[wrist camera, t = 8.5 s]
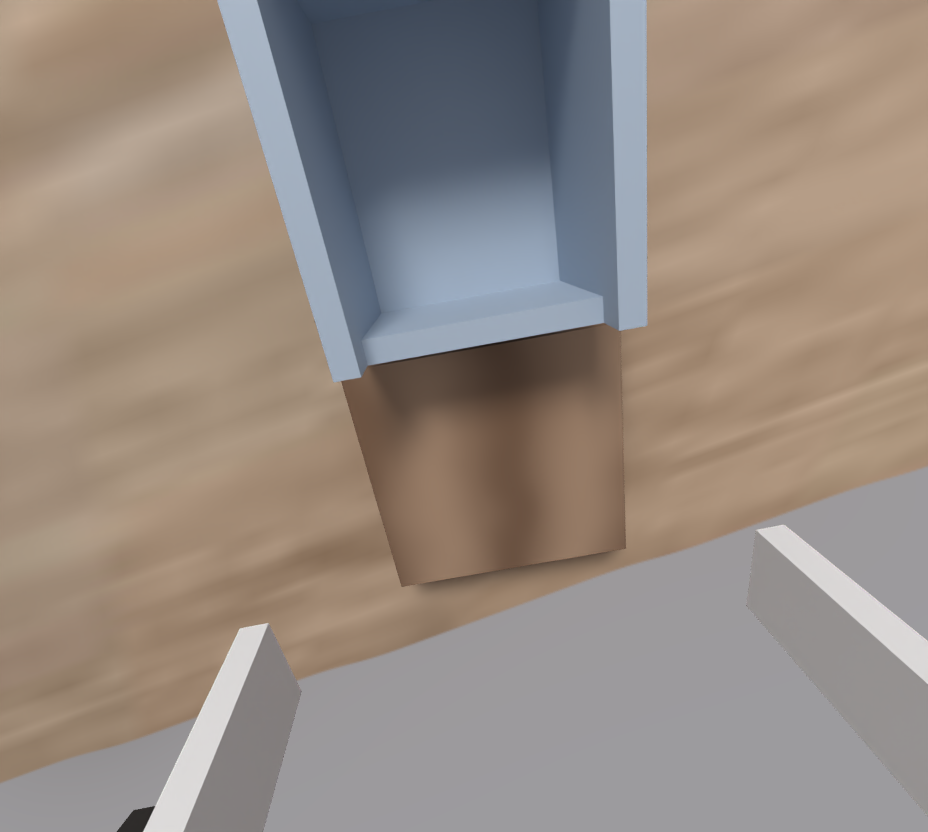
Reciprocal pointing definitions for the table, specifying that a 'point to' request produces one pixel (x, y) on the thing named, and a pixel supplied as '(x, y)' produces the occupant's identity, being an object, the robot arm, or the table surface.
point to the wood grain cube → (496, 452)
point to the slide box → (453, 165)
